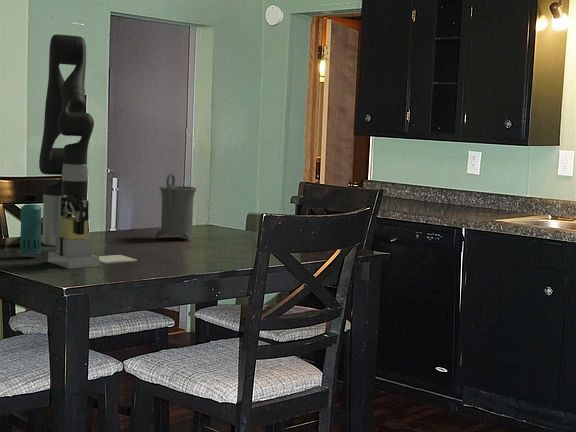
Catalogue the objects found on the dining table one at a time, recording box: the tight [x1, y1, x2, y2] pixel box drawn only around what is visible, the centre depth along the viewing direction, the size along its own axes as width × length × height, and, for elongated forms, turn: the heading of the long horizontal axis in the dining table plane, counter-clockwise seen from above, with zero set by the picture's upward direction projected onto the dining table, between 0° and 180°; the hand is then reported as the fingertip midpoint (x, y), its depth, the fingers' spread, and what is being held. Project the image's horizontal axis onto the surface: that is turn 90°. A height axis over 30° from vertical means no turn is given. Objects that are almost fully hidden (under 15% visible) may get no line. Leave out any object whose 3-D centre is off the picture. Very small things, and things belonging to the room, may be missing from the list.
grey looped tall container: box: [153, 172, 197, 243], centre depth 342 cm, size 19×15×25 cm
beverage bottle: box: [19, 193, 43, 255], centre depth 288 cm, size 6×7×20 cm
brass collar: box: [60, 216, 89, 240], centre depth 279 cm, size 6×6×6 cm
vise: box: [47, 237, 100, 269], centre depth 280 cm, size 14×10×13 cm
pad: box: [98, 254, 138, 264], centre depth 291 cm, size 11×11×1 cm
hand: (73, 232), depth 279 cm, fingers open, 8 cm apart
